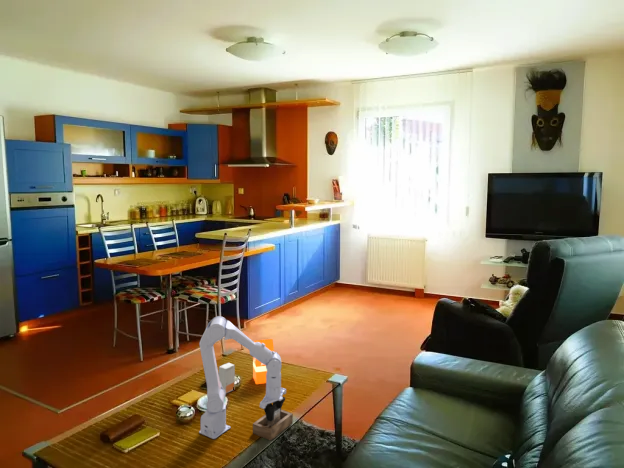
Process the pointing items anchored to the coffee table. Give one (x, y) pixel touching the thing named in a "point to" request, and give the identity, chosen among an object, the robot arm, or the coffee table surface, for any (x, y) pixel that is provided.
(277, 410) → the bracket
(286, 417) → the well block
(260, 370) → the orange juice
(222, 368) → the skincare box
